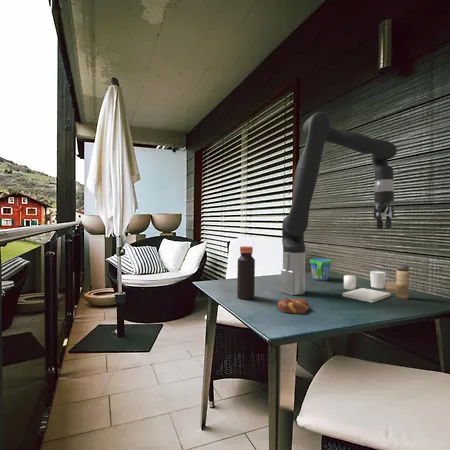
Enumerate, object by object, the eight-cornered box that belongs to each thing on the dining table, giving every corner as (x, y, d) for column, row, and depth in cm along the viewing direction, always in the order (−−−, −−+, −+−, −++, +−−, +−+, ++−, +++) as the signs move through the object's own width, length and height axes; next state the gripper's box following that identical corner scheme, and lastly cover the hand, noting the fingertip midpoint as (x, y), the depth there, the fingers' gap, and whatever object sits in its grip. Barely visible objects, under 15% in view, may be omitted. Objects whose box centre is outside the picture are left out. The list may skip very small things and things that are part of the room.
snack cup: (328, 283, 148) (328, 262, 147) (306, 281, 153) (306, 260, 152) (333, 278, 162) (333, 258, 161) (312, 276, 166) (313, 257, 166)
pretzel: (291, 303, 114) (291, 293, 114) (316, 310, 106) (317, 299, 105) (270, 309, 106) (270, 298, 106) (296, 317, 98) (296, 305, 98)
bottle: (255, 296, 122) (256, 246, 122) (252, 300, 116) (253, 248, 115) (239, 294, 124) (239, 245, 124) (235, 299, 118) (235, 247, 117)
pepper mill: (405, 299, 119) (406, 266, 119) (393, 297, 122) (394, 265, 122) (410, 298, 122) (411, 265, 122) (398, 295, 125) (399, 264, 125)
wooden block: (395, 293, 129) (396, 284, 129) (385, 292, 132) (385, 283, 131) (397, 291, 132) (397, 282, 132) (386, 290, 135) (386, 281, 135)
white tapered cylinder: (388, 289, 137) (388, 273, 137) (371, 288, 139) (372, 272, 138) (383, 285, 144) (383, 271, 144) (367, 284, 145) (368, 270, 145)
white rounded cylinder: (352, 290, 135) (352, 277, 134) (341, 288, 138) (341, 276, 138) (358, 288, 138) (358, 276, 138) (347, 286, 142) (347, 274, 142)
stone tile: (372, 302, 115) (372, 299, 115) (342, 296, 124) (342, 293, 124) (390, 296, 125) (390, 293, 125) (361, 290, 134) (361, 287, 134)
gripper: (382, 192, 138) (382, 228, 138) (367, 190, 129) (367, 229, 129) (400, 190, 132) (400, 228, 132) (385, 189, 123) (386, 229, 123)
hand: (384, 228), depth 131 cm, fingers open, 8 cm apart
